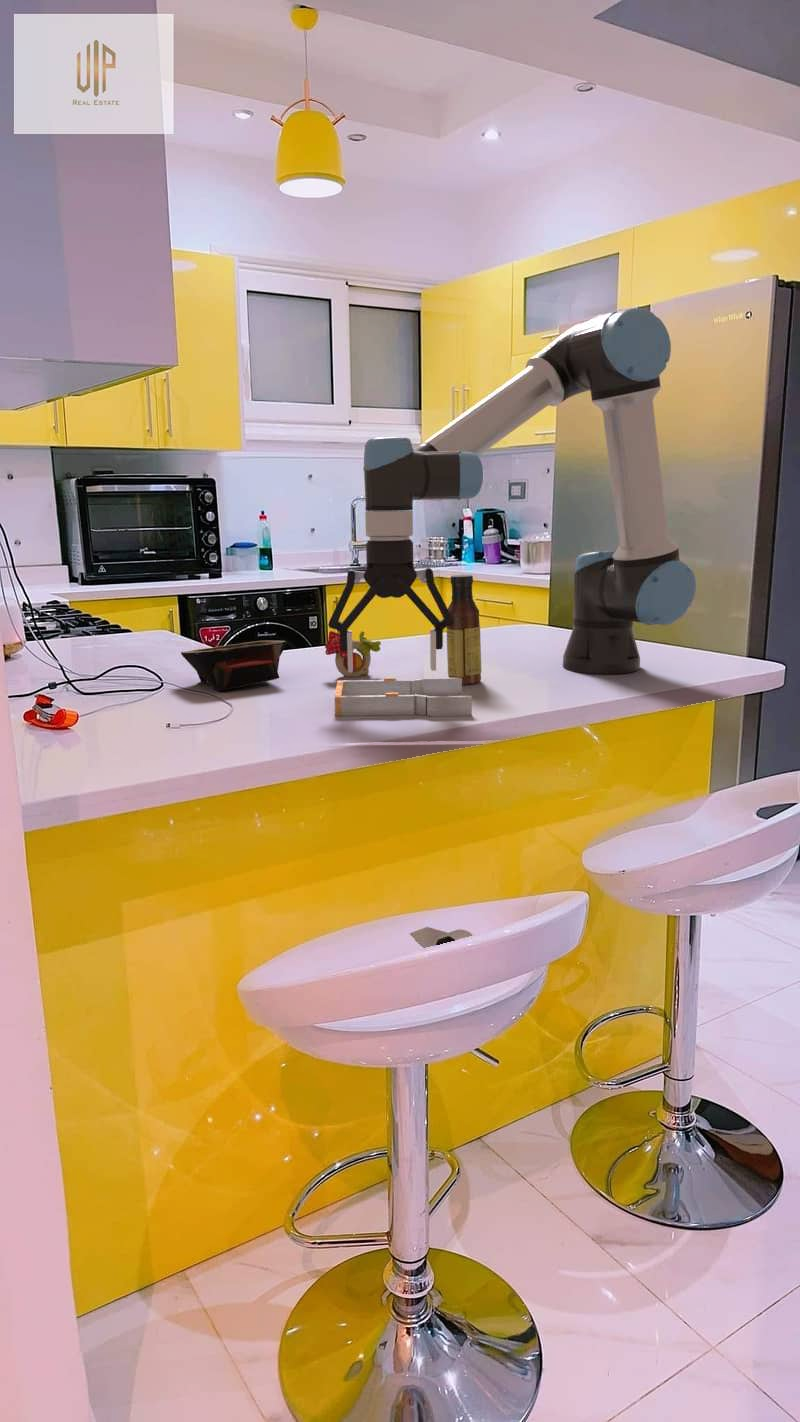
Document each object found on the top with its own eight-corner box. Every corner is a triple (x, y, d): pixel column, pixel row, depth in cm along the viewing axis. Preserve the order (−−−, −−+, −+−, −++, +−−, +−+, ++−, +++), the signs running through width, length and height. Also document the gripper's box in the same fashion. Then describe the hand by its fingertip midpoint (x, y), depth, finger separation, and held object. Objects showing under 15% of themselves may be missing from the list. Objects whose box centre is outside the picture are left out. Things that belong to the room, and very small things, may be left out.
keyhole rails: (461, 694, 161) (461, 675, 160) (471, 715, 144) (471, 694, 144) (338, 696, 160) (337, 676, 159) (334, 717, 144) (334, 696, 143)
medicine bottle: (437, 996, 132) (486, 983, 122) (395, 986, 129) (442, 972, 120) (441, 946, 135) (489, 930, 126) (400, 935, 132) (446, 918, 123)
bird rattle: (385, 676, 177) (385, 630, 175) (337, 683, 171) (335, 635, 169) (367, 672, 182) (366, 626, 180) (319, 679, 176) (318, 631, 174)
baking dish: (186, 695, 173) (173, 644, 170) (272, 669, 181) (261, 620, 178) (212, 710, 161) (199, 655, 158) (302, 681, 169) (292, 629, 166)
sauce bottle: (481, 679, 174) (482, 573, 169) (481, 686, 168) (482, 576, 163) (446, 679, 174) (447, 573, 170) (445, 685, 168) (445, 576, 164)
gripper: (465, 536, 150) (465, 664, 155) (312, 539, 149) (317, 667, 154) (470, 538, 143) (470, 672, 148) (309, 541, 142) (314, 676, 147)
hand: (392, 670), depth 151 cm, fingers open, 13 cm apart
